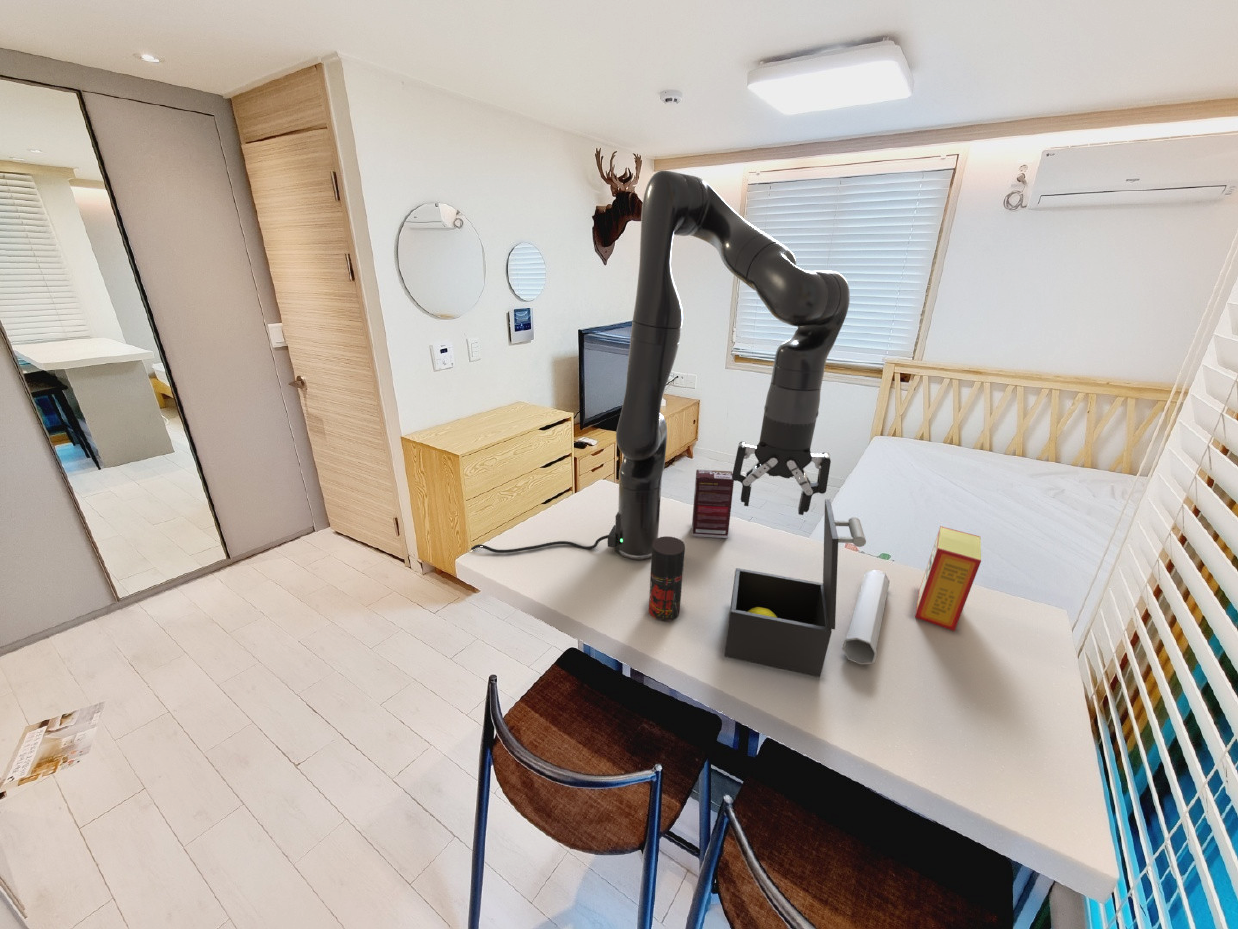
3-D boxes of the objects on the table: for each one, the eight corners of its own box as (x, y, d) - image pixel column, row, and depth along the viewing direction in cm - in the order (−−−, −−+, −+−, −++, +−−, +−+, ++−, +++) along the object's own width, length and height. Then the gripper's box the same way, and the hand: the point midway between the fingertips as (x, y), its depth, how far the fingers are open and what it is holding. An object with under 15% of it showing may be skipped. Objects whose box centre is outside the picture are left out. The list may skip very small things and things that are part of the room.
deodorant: (643, 605, 98) (646, 540, 92) (670, 597, 100) (675, 533, 94) (657, 625, 93) (661, 557, 87) (685, 616, 95) (691, 550, 89)
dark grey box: (724, 656, 86) (730, 611, 82) (730, 609, 97) (735, 567, 93) (820, 677, 83) (831, 631, 79) (814, 626, 94) (824, 583, 90)
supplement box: (725, 528, 124) (733, 470, 118) (727, 539, 120) (735, 479, 113) (690, 526, 125) (695, 468, 119) (691, 536, 121) (696, 477, 114)
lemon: (736, 637, 90) (740, 613, 87) (745, 619, 94) (749, 595, 92) (776, 652, 86) (781, 628, 84) (783, 632, 91) (788, 609, 88)
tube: (861, 564, 105) (840, 635, 86) (890, 565, 102) (874, 640, 82) (864, 586, 106) (844, 662, 87) (893, 588, 103) (878, 667, 84)
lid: (832, 538, 72) (870, 539, 71) (824, 499, 83) (857, 499, 82) (829, 629, 78) (864, 632, 77) (822, 581, 90) (853, 582, 88)
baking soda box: (918, 591, 104) (940, 524, 97) (955, 603, 100) (981, 534, 94) (914, 617, 96) (938, 547, 90) (954, 631, 93) (981, 559, 86)
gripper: (838, 411, 76) (817, 504, 83) (743, 401, 80) (730, 491, 87) (844, 428, 70) (820, 527, 77) (739, 415, 73) (726, 512, 80)
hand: (772, 508), depth 82 cm, fingers open, 8 cm apart
